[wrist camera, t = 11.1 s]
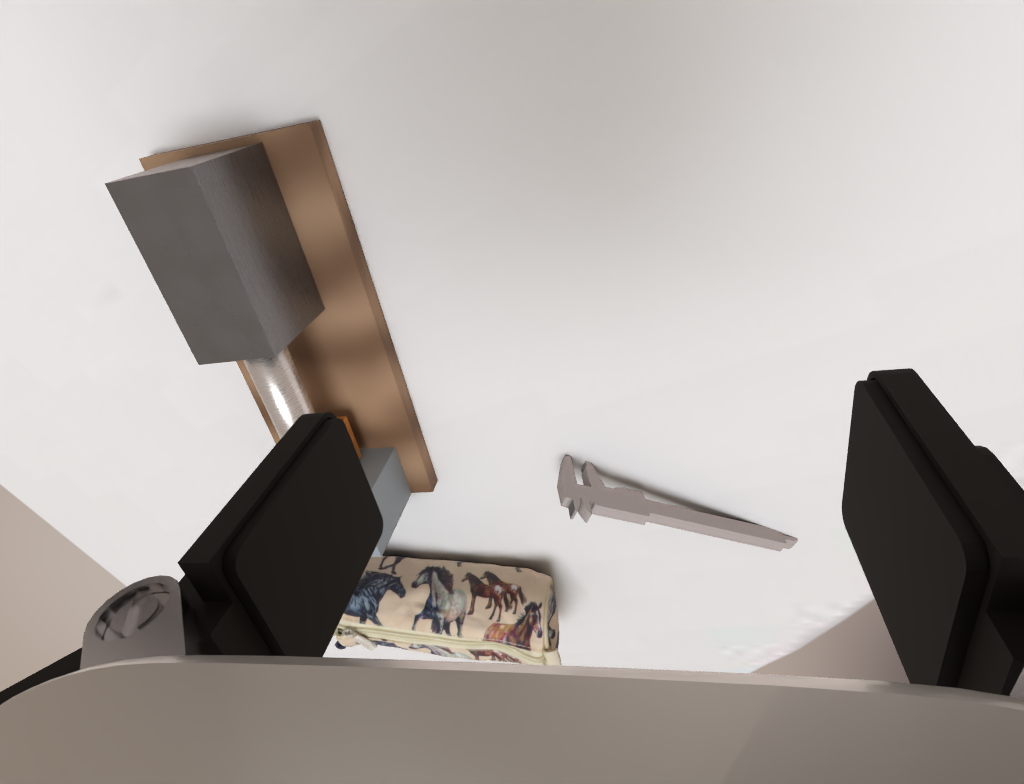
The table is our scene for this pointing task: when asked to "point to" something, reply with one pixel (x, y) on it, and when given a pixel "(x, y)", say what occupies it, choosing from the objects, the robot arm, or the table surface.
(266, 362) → the tube
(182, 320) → the sleeve
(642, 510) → the caliper
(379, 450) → the socket
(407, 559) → the pencil case
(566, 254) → the table surface
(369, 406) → the board
